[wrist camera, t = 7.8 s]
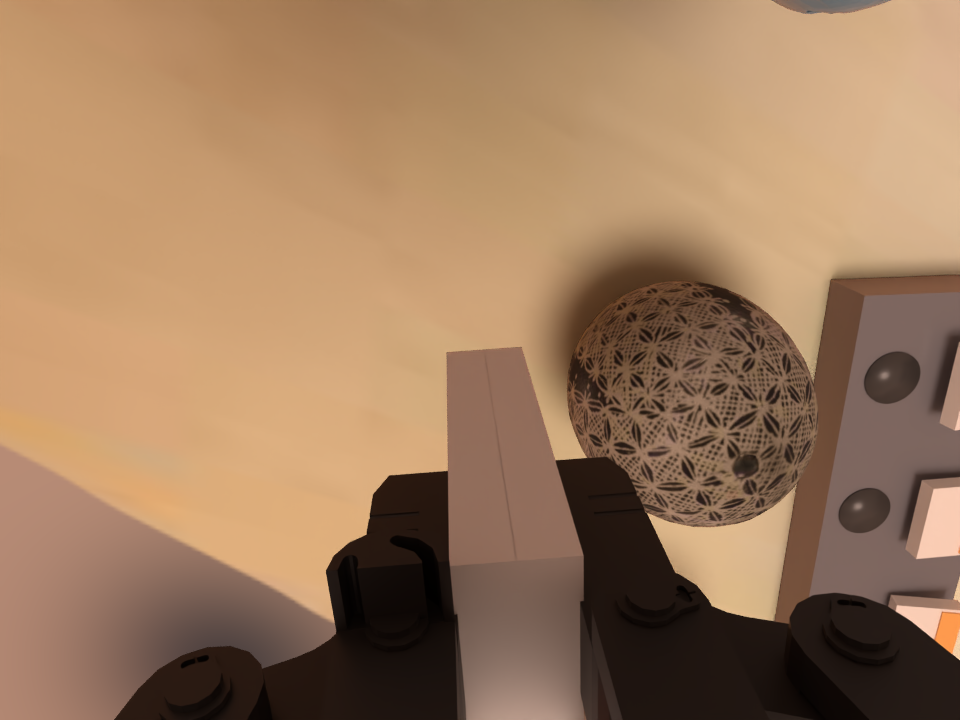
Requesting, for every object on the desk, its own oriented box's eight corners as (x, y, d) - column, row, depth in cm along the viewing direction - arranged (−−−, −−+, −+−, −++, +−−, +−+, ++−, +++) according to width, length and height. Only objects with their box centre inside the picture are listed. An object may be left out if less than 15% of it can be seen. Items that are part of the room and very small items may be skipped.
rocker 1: (890, 594, 45) (897, 606, 44) (957, 600, 45) (966, 612, 44) (876, 653, 47) (883, 666, 46) (940, 659, 46) (948, 672, 45)
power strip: (831, 279, 41) (866, 296, 38) (992, 273, 42) (1041, 289, 38) (770, 645, 51) (794, 684, 48) (901, 637, 52) (933, 676, 48)
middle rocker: (921, 479, 42) (935, 490, 40) (983, 475, 42) (998, 485, 41) (905, 548, 43) (917, 560, 42) (964, 543, 44) (978, 554, 43)
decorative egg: (527, 415, 43) (569, 569, 29) (581, 235, 39) (659, 314, 25) (700, 450, 45) (817, 612, 31) (768, 280, 41) (938, 377, 27)
